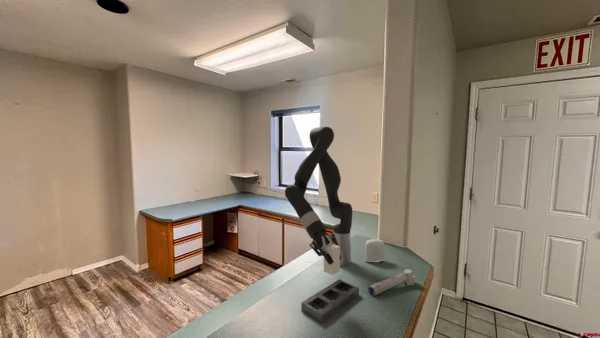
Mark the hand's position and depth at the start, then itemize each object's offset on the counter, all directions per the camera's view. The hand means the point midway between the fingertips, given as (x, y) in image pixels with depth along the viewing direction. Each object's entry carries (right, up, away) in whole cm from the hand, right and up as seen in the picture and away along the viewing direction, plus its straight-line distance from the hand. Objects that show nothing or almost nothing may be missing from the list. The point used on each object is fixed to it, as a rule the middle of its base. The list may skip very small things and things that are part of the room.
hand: (335, 261), depth 91 cm
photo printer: (+27, -16, +39) cm, 50 cm away
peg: (-1, -5, +2) cm, 5 cm away
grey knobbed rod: (+27, -17, +12) cm, 34 cm away
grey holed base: (-1, -17, +2) cm, 17 cm away
